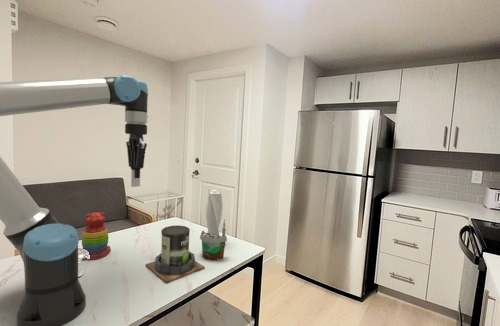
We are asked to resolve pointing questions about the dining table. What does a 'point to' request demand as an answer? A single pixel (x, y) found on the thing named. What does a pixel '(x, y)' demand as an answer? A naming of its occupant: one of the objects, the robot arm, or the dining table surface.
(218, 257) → the food container
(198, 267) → the board
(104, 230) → the stacking bear
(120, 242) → the dining table surface
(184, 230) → the coffee can
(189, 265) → the collar
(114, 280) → the dining table surface
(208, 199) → the skyscraper
